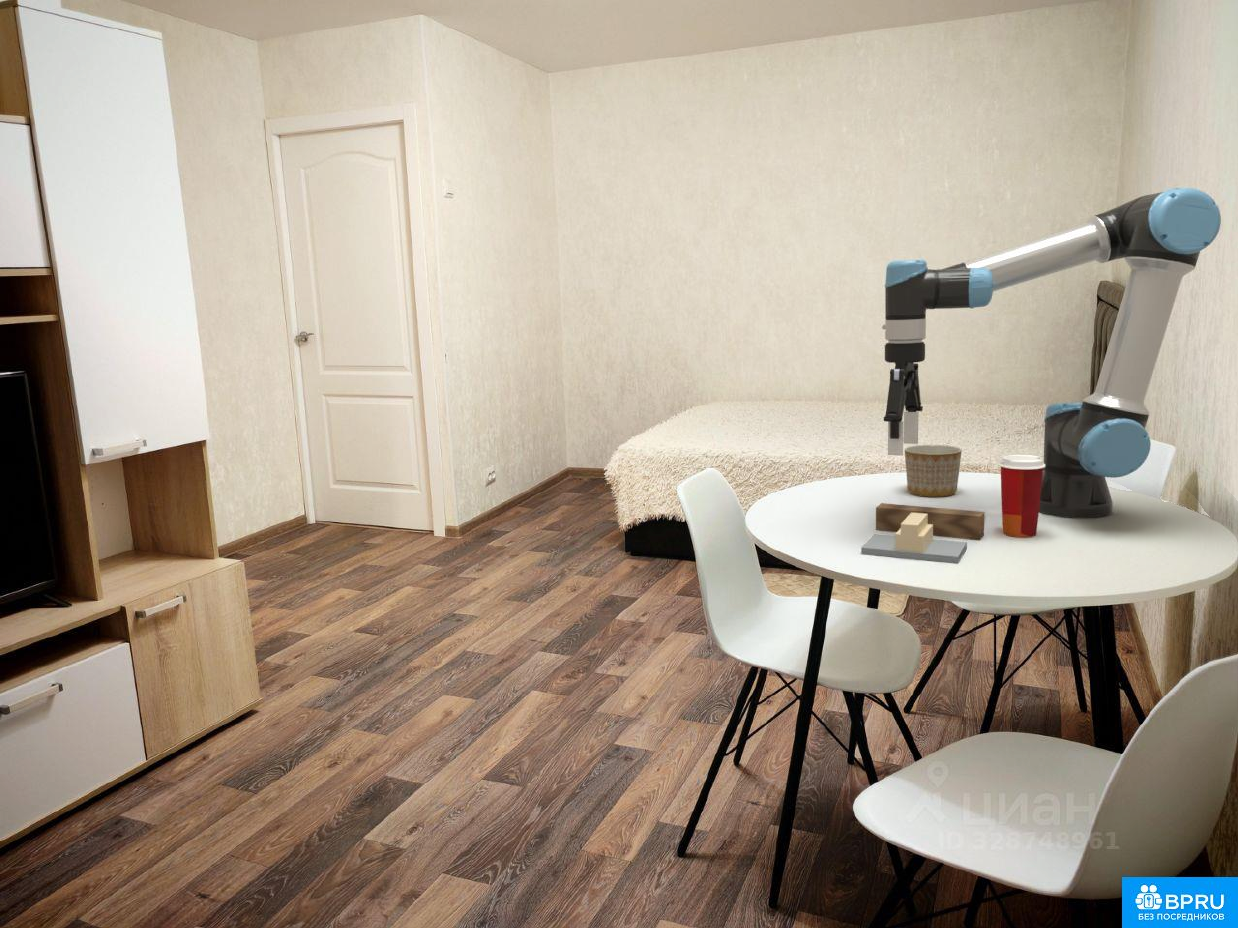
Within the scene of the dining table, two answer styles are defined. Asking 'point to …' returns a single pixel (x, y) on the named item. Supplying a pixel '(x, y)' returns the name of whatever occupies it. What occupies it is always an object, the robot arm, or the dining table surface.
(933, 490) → the planter
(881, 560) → the dining table surface
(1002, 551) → the dining table surface
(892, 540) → the fulcrum
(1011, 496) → the coffee cup
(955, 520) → the bar
